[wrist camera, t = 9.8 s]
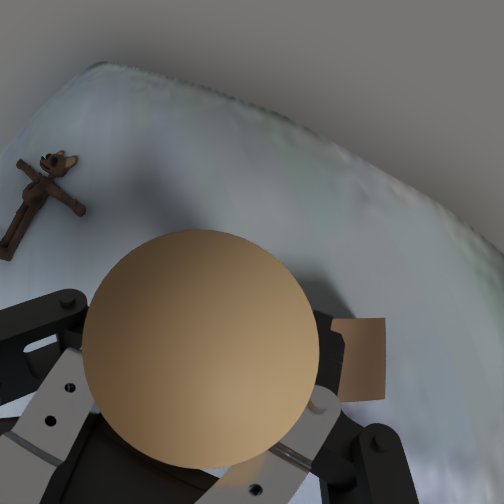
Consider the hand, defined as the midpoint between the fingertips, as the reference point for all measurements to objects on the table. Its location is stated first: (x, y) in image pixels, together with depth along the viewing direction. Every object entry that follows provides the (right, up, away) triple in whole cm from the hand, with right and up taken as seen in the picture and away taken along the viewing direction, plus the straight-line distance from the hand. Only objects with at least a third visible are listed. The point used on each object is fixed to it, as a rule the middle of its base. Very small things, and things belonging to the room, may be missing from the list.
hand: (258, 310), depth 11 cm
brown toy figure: (-25, +7, +18) cm, 32 cm away
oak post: (0, -4, +4) cm, 6 cm away
